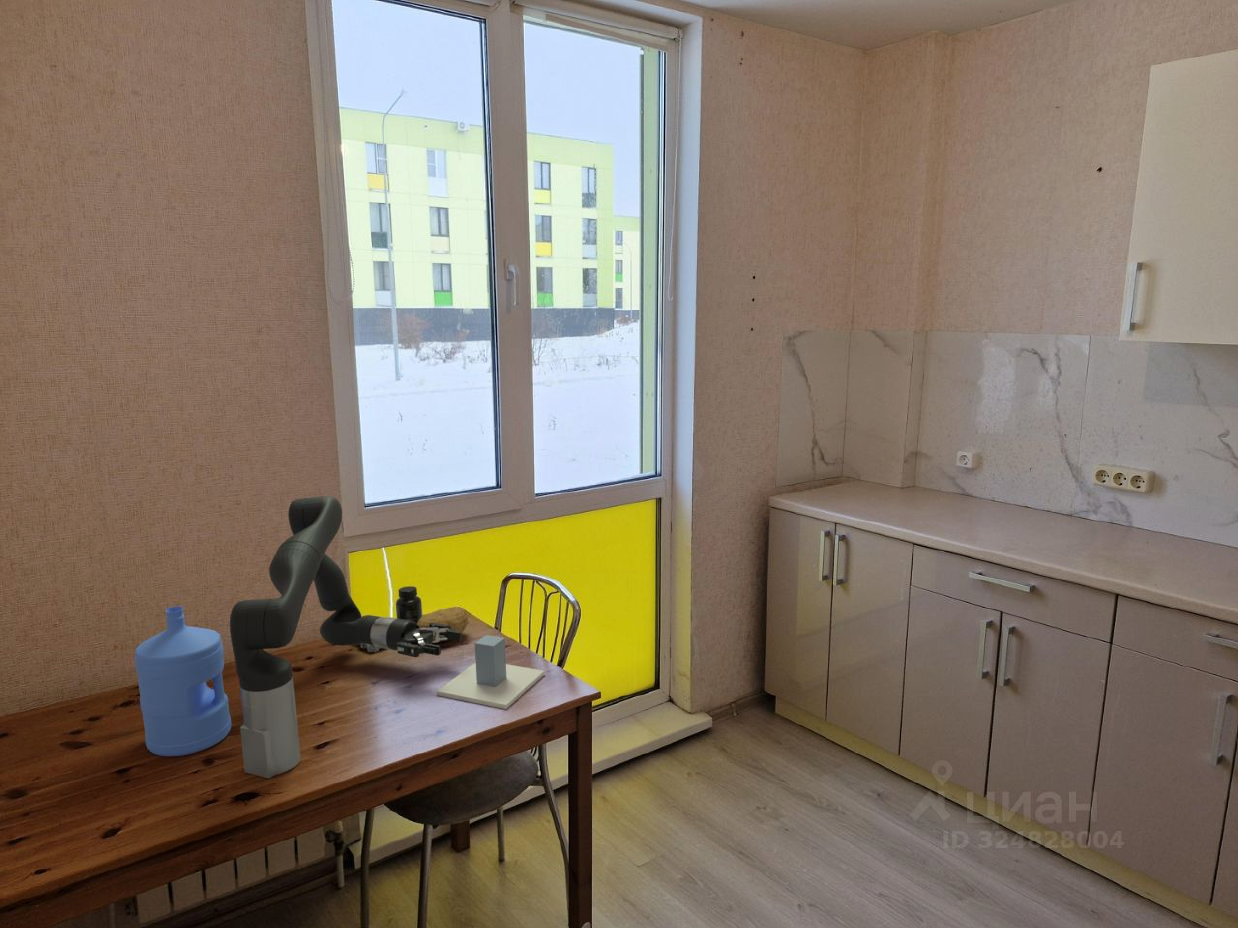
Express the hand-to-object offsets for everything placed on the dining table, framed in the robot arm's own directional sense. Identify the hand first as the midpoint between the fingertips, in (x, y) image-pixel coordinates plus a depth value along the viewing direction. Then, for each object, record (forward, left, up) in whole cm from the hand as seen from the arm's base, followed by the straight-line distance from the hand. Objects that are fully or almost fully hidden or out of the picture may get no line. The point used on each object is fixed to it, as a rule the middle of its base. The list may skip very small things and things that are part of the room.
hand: (450, 643), depth 190 cm
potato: (+18, +15, -9) cm, 25 cm away
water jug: (-43, +35, -9) cm, 56 cm away
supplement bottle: (+20, +27, -9) cm, 35 cm away
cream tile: (0, -11, -8) cm, 14 cm away
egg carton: (+9, +31, -9) cm, 33 cm away
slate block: (0, -11, -7) cm, 13 cm away
